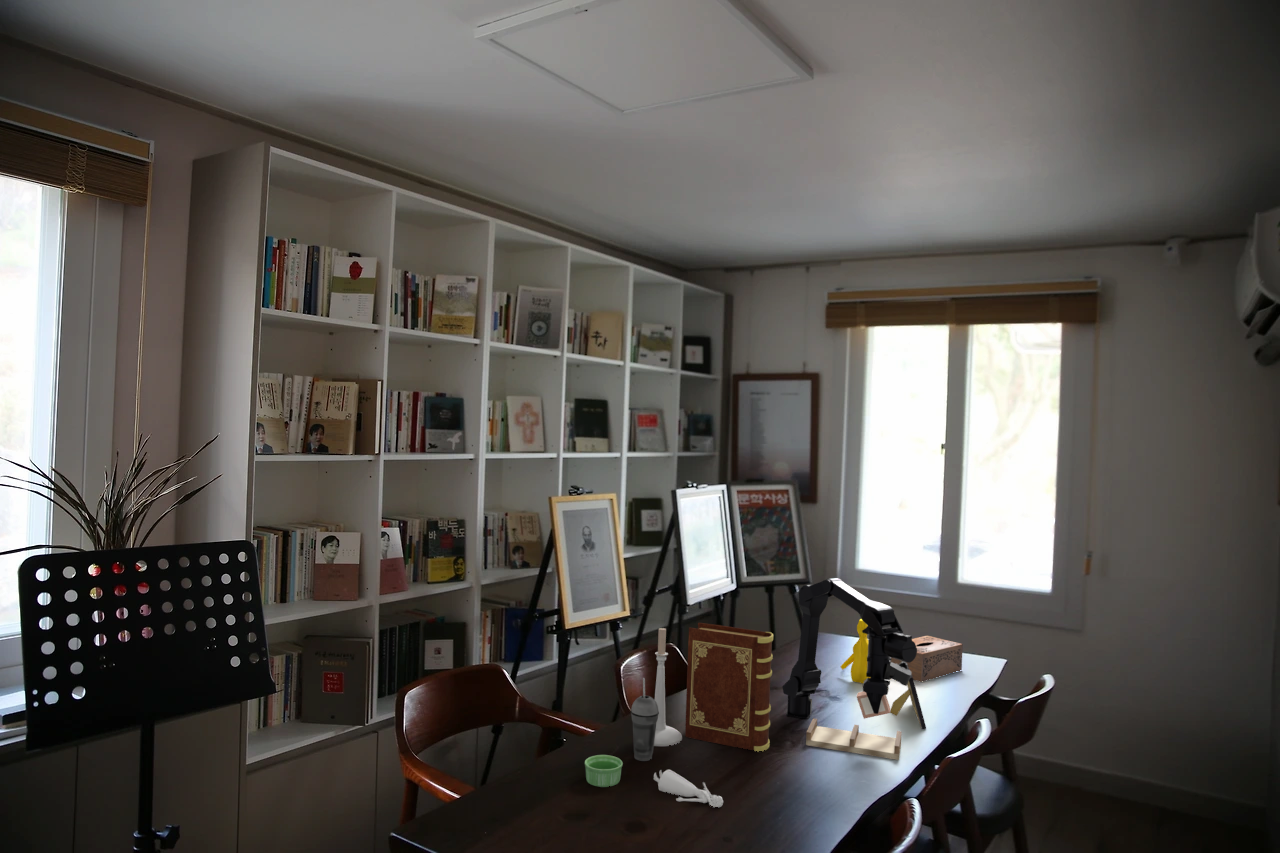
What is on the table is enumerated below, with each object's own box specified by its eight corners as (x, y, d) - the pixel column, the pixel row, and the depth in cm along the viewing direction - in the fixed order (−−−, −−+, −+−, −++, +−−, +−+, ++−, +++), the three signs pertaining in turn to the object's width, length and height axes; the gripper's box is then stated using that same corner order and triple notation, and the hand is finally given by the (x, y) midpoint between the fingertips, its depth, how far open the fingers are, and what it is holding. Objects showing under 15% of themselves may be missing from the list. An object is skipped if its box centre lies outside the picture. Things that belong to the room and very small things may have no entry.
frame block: (863, 718, 225) (856, 696, 226) (865, 714, 229) (857, 692, 230) (889, 713, 223) (882, 691, 224) (890, 708, 227) (883, 686, 227)
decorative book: (772, 743, 226) (776, 632, 226) (764, 753, 219) (768, 638, 219) (695, 728, 236) (698, 621, 236) (684, 737, 229) (688, 627, 229)
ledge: (806, 745, 226) (806, 732, 226) (812, 730, 238) (813, 718, 238) (898, 760, 218) (899, 746, 218) (901, 744, 229) (901, 731, 229)
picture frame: (926, 729, 241) (922, 677, 242) (894, 729, 243) (889, 677, 244) (916, 704, 264) (912, 656, 264) (887, 704, 266) (883, 657, 266)
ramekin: (585, 771, 204) (586, 753, 204) (622, 773, 203) (623, 755, 203) (582, 787, 195) (582, 768, 195) (620, 789, 194) (621, 770, 194)
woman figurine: (671, 759, 202) (736, 785, 191) (670, 777, 202) (734, 804, 191) (643, 774, 193) (709, 802, 182) (641, 793, 193) (707, 822, 182)
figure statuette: (892, 685, 284) (895, 620, 285) (885, 690, 278) (888, 624, 278) (842, 675, 294) (844, 612, 294) (834, 680, 288) (836, 616, 288)
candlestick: (666, 750, 219) (671, 635, 219) (625, 739, 226) (629, 627, 226) (690, 735, 230) (694, 626, 230) (650, 725, 237) (654, 619, 237)
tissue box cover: (921, 682, 289) (922, 653, 289) (885, 672, 301) (886, 644, 301) (961, 671, 305) (962, 644, 305) (926, 662, 317) (927, 635, 317)
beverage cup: (637, 764, 209) (639, 684, 209) (624, 754, 215) (626, 676, 215) (662, 760, 212) (665, 681, 212) (649, 750, 218) (651, 673, 219)
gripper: (908, 665, 214) (906, 726, 214) (911, 648, 232) (909, 705, 232) (863, 660, 218) (861, 720, 218) (869, 643, 236) (867, 699, 236)
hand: (876, 710), depth 226 cm, fingers closed on frame block, 4 cm apart
